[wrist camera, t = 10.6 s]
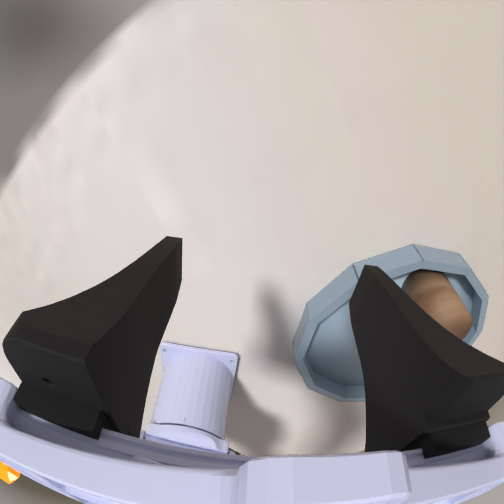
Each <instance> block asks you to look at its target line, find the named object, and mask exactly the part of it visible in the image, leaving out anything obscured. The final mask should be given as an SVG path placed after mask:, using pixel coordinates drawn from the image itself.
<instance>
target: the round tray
mask: <svg viewBox="0 0 504 504" xmlns="http://www.w3.org/2000/svg"><path fill="white" fill-rule="evenodd" d="M353 264H354V266H353V265H350V266H349V267H348V268H347V269H346V270H345V271H344V272H343V273H341V274H340V275H339V276H338V277H337V278H336V279H335V280H333V281H332V282H331V283H330V284H329V285H328V286H326V287H325V288H324V289H323V290H322V291H321V292H319V293H318V294H317V295H316V296H315V297H313V298H312V299H311V300H310V301H309V302H307V304H306V307H305V310H304V313H303V315H302V318H301V321H300V324H299V327H298V330H297V332H296V335H295V338H294V341H293V352H294V362H295V364H296V366H297V368H298V370H299V372H300V374H301V376H302V377H303V379H304V381H305V383H306V385H307V387H308V388H309V389H311V390H313V391H316V392H318V393H321V394H323V395H325V396H328V397H330V398H333V399H335V400H338V401H341V402H356V401H365V389H364V378H363V372H362V367H361V363H360V359H359V354H358V350H357V346H356V342H355V338H354V334H353V330H352V326H351V319H350V310H349V301H350V299H351V296H352V294H353V292H354V289H355V287H356V284H357V282H358V280H359V277H360V275H361V272H362V270H363V267H364V265H372V266H378V267H379V268H381V269H382V270H383V271H384V272H385V273H386V274H387V275H388V276H389V277H390V278H391V279H392V280H393V281H394V282H395V283H396V284H397V285H398V286H399V287H400V288H401V289H402V285H403V282H404V280H405V279H406V277H407V276H408V275H409V274H410V273H411V272H412V271H415V270H418V269H421V268H422V269H429V270H435V271H441V272H444V274H445V275H446V277H447V278H448V280H449V281H450V283H451V284H452V286H453V287H454V289H455V291H456V292H457V294H458V295H459V297H460V299H461V300H462V302H463V303H464V305H465V307H466V308H467V310H468V312H469V313H470V315H471V317H472V321H473V322H472V327H471V329H470V331H469V333H468V334H467V335H466V337H465V338H464V339H463V340H462V341H464V342H465V343H467V344H469V345H470V346H471V345H472V344H473V343H474V341H475V340H476V339H477V337H478V336H479V335H480V333H481V331H482V329H483V324H484V319H485V314H486V309H487V304H488V298H489V297H488V294H487V293H486V291H485V289H484V288H483V286H482V285H481V283H480V281H479V280H478V278H477V277H476V275H475V274H474V272H473V271H472V269H471V268H470V267H469V265H468V264H467V263H466V261H465V260H464V259H463V257H462V256H461V255H460V254H459V253H455V252H450V251H445V250H440V249H435V248H430V247H425V246H420V245H415V244H414V245H409V246H406V247H403V248H400V249H397V250H394V251H391V252H388V253H385V254H381V255H378V256H375V257H372V258H369V259H366V260H363V261H360V262H356V263H353Z"/></svg>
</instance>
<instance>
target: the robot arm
mask: <svg viewBox="0 0 504 504" xmlns="http://www.w3.org/2000/svg"><path fill="white" fill-rule="evenodd" d="M181 281H182V238H176V237H169V236H167V237H165V238H164V239H163V240H161V241H160V242H159V243H157V244H156V245H155V246H154V247H152V248H151V249H150V250H149V251H147V252H146V253H145V254H144V255H142V256H141V257H140V258H138V259H137V260H136V261H134V262H133V263H132V264H130V265H129V266H127V267H126V268H124V269H123V270H121V271H120V272H119V273H117V274H115V275H114V276H112V277H111V278H109V279H107V280H105V281H103V282H102V283H100V284H98V285H96V286H94V287H92V288H90V289H88V290H86V291H84V292H81V293H79V294H77V295H75V296H72V297H70V298H67V299H65V300H62V301H59V302H56V303H53V304H50V305H47V306H44V307H40V308H36V309H32V310H28V311H24V312H22V313H21V315H20V316H19V317H18V319H17V320H16V322H15V323H14V325H13V326H12V328H11V329H10V331H9V332H8V334H7V335H6V337H5V338H4V340H3V349H4V353H5V355H6V357H7V359H8V361H9V362H10V364H11V365H12V367H13V369H14V370H15V372H16V373H17V375H18V376H19V378H20V379H21V381H22V383H21V384H20V386H19V388H17V387H16V386H14V385H13V384H12V383H10V382H8V381H6V380H4V379H2V378H0V461H1V462H2V463H4V464H6V465H8V466H9V467H11V468H13V469H14V470H16V471H18V472H20V473H22V474H23V475H25V476H27V477H29V478H31V479H33V480H35V481H37V482H39V483H41V484H43V485H44V486H47V487H49V488H51V489H53V490H55V491H57V492H59V493H62V494H64V495H66V496H68V497H70V498H73V499H75V500H78V501H80V502H82V503H85V504H459V503H461V502H464V501H466V500H468V499H471V498H473V497H476V496H478V495H480V494H482V493H485V492H487V491H489V490H490V489H492V488H494V487H495V486H497V485H499V484H501V483H502V482H504V421H501V422H498V423H495V424H492V425H491V426H489V427H487V424H486V421H487V420H488V419H489V418H490V416H489V413H488V410H489V409H490V408H491V407H492V406H493V405H494V404H495V403H496V402H497V401H498V400H499V399H500V398H501V397H502V396H503V395H504V363H503V362H501V361H499V360H497V359H495V358H493V357H490V356H488V355H486V354H484V353H482V352H481V351H479V350H477V349H475V348H474V347H472V346H470V345H469V344H467V343H465V342H464V341H462V340H461V339H459V338H458V337H456V336H455V335H454V334H452V333H451V332H449V331H448V330H447V329H445V328H444V327H443V326H442V325H440V324H439V323H438V322H437V321H435V320H434V319H433V318H432V317H431V316H430V315H428V314H427V313H426V312H425V311H424V310H423V309H422V308H421V307H420V306H419V305H418V304H417V303H416V302H414V301H413V300H412V299H411V298H410V297H409V296H408V295H407V294H406V293H405V292H404V291H403V290H402V289H401V288H400V287H399V286H398V285H397V284H396V283H395V282H394V281H393V280H392V279H391V278H390V277H389V276H388V275H387V274H386V273H385V272H384V271H383V270H382V269H381V268H379V267H378V266H372V265H364V267H363V270H362V272H361V275H360V277H359V280H358V282H357V284H356V287H355V289H354V292H353V294H352V296H351V299H350V301H349V310H350V319H351V326H352V330H353V334H354V338H355V342H356V346H357V350H358V354H359V359H360V363H361V367H362V372H363V378H364V389H365V402H366V444H365V452H363V453H348V454H324V455H293V454H292V455H269V456H265V457H253V456H242V455H236V454H235V452H233V451H230V450H228V446H229V441H226V440H224V438H225V428H226V419H227V409H228V400H230V399H231V394H232V388H233V383H234V378H235V372H236V367H237V361H238V355H237V354H236V353H230V352H223V351H216V350H209V349H202V348H196V347H190V346H184V345H178V344H173V343H167V342H162V343H161V346H160V347H161V356H162V364H163V372H164V374H163V377H162V381H161V385H160V388H159V392H158V396H157V400H156V404H155V408H154V411H153V415H152V419H151V423H149V425H148V429H147V433H146V434H145V431H144V430H141V425H142V419H143V413H144V408H145V402H146V397H147V392H148V387H149V382H150V378H151V374H152V369H153V365H154V361H155V357H156V354H157V351H158V348H159V345H160V342H161V339H162V337H163V334H164V332H165V329H166V327H167V324H168V322H169V319H170V316H171V314H172V311H173V309H174V306H175V304H176V301H177V297H178V293H179V289H180V285H181Z"/></svg>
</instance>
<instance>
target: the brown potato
mask: <svg viewBox="0 0 504 504" xmlns="http://www.w3.org/2000/svg"><path fill="white" fill-rule="evenodd" d="M402 290H403V291H404V292H405V293H406V294H407V295H408V296H409V297H410V298H411V299H412V300H413V301H414V302H416V303H417V304H418V305H419V306H420V307H421V308H422V309H423V310H424V311H425V312H426V313H427V314H428V315H430V316H431V317H432V318H433V319H434V320H435V321H437V322H438V323H439V324H440V325H442V326H443V327H444V328H445V329H447V330H448V331H449V332H451V333H452V334H454V335H455V336H456V337H458V338H459V339H461V340H463V339H464V338H465V337H466V335H467V334H468V333H469V331H470V329H471V327H472V322H473V321H472V317H471V315H470V313H469V312H468V310H467V308H466V307H465V305H464V303H463V302H462V300H461V299H460V297H459V295H458V294H457V292H456V291H455V289H454V287H453V286H452V284H451V283H450V281H449V280H448V278H447V277H446V275H445V274H444V272H441V271H435V270H429V269H422V268H421V269H418V270H415V271H412V272H411V273H410V274H409V275H408V276H407V277H406V279H405V280H404V282H403V285H402Z"/></svg>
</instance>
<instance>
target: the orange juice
mask: <svg viewBox="0 0 504 504" xmlns="http://www.w3.org/2000/svg"><path fill="white" fill-rule="evenodd" d="M19 475H20V472H18V471H16V470H14V469H13V468H11V467H9V466H8V465H6V464H4V463H2V462H0V478H1V479H2V480H4V481H6V482H7V483H9V484H10V483H12V482H13V481H15V480H16V479H18V478H19Z"/></svg>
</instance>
